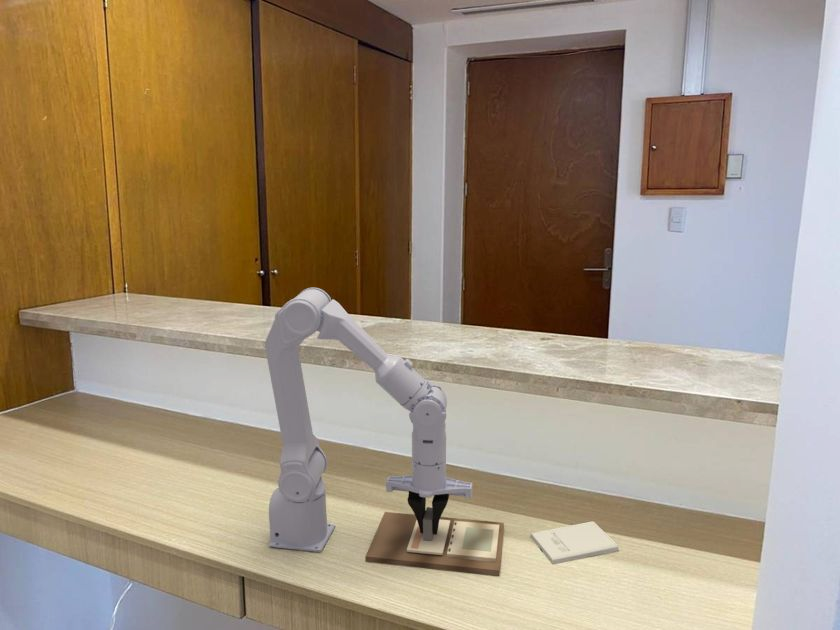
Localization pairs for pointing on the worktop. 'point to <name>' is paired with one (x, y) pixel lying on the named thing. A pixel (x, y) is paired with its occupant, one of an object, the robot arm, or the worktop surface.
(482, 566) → the ticket board
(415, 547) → the stub
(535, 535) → the external hard drive
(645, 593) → the worktop surface
